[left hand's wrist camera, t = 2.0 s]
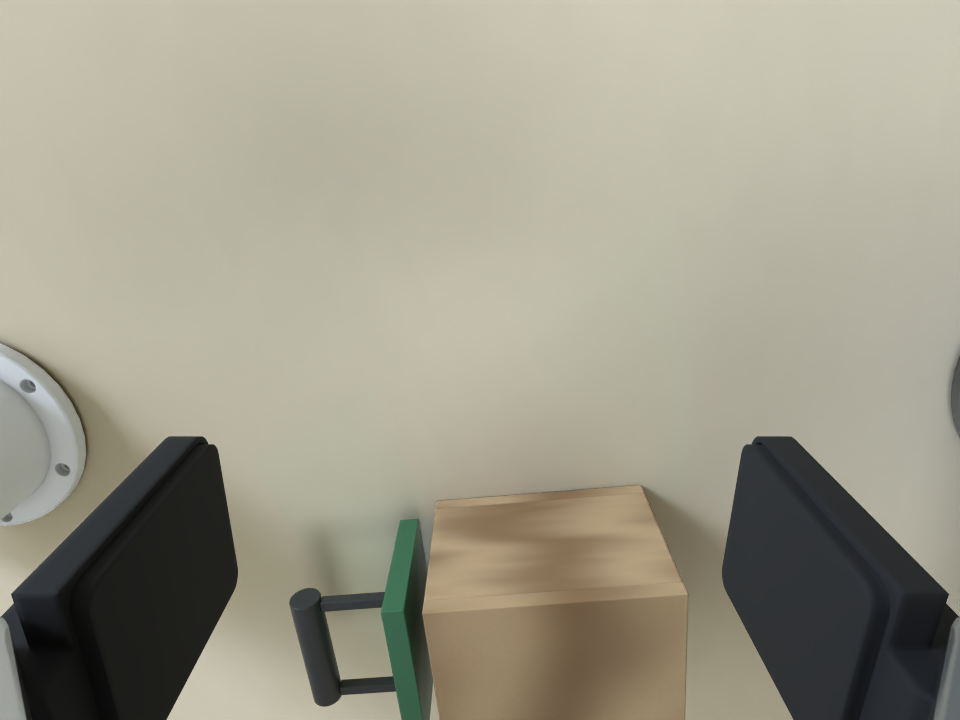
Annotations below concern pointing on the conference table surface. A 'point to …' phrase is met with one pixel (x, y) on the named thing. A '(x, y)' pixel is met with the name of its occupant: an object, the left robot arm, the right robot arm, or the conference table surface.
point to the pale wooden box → (555, 609)
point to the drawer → (399, 625)
